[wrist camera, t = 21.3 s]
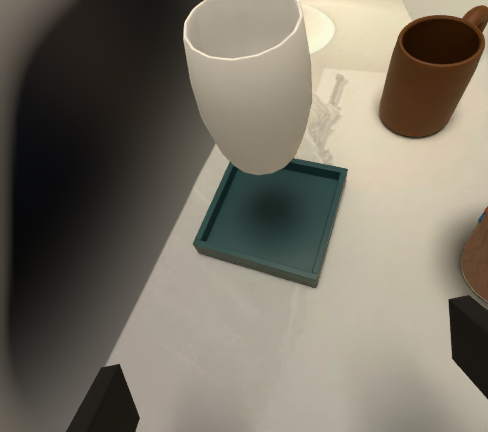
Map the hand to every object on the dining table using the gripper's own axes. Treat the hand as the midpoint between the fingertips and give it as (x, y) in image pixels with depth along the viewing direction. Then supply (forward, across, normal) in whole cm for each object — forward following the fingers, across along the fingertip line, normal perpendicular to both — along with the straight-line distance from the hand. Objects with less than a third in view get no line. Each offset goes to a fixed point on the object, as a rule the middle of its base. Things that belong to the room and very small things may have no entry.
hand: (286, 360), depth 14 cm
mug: (+31, +22, +6) cm, 38 cm away
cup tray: (+23, +2, -1) cm, 23 cm away
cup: (+23, +2, -1) cm, 23 cm away
